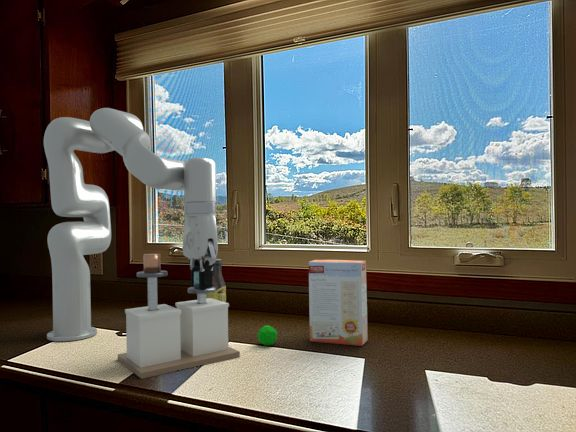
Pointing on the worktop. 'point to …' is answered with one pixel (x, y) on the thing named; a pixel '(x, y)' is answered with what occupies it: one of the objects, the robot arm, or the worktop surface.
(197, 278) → the plunger
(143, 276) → the plunger
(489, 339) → the worktop surface
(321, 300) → the cracker box
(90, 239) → the robot arm
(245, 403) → the worktop surface
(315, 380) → the worktop surface
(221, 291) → the sauce bottle
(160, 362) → the press stand
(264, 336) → the polyhedron
